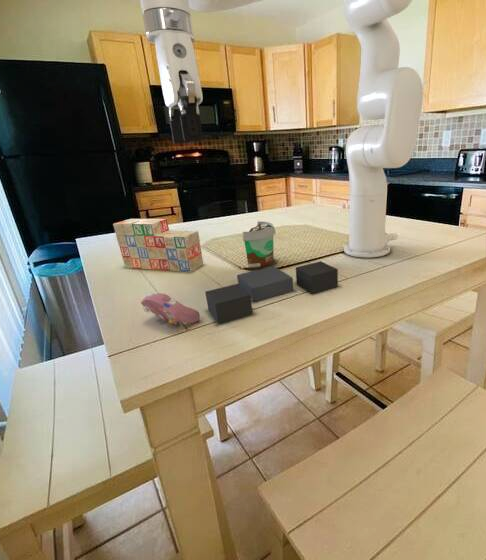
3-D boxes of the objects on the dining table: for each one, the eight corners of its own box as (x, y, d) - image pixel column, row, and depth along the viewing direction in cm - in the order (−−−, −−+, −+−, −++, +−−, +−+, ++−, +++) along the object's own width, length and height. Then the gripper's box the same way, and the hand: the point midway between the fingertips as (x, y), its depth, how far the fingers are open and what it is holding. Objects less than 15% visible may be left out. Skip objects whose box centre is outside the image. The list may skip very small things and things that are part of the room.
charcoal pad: (321, 277, 77) (320, 261, 75) (337, 286, 71) (337, 269, 70) (296, 284, 74) (295, 267, 72) (312, 294, 69) (311, 276, 67)
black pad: (240, 301, 67) (237, 283, 66) (252, 314, 62) (250, 294, 60) (208, 310, 64) (205, 291, 63) (218, 324, 59) (215, 304, 58)
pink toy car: (154, 323, 64) (130, 300, 59) (170, 305, 66) (148, 281, 61) (188, 337, 59) (165, 312, 54) (204, 316, 61) (183, 291, 56)
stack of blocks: (204, 264, 90) (196, 218, 85) (190, 272, 85) (181, 224, 80) (140, 260, 97) (130, 217, 92) (124, 267, 91) (112, 222, 87)
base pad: (274, 278, 78) (273, 266, 77) (293, 290, 71) (292, 277, 70) (238, 287, 74) (236, 274, 73) (254, 301, 67) (252, 288, 66)
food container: (270, 272, 82) (267, 232, 78) (246, 272, 83) (242, 232, 79) (283, 256, 93) (280, 220, 89) (261, 256, 94) (258, 220, 90)
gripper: (205, 15, 50) (221, 139, 56) (182, 46, 64) (197, 142, 71) (152, 8, 47) (175, 141, 53) (139, 42, 61) (159, 144, 67)
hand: (187, 142), depth 62 cm, fingers open, 9 cm apart
